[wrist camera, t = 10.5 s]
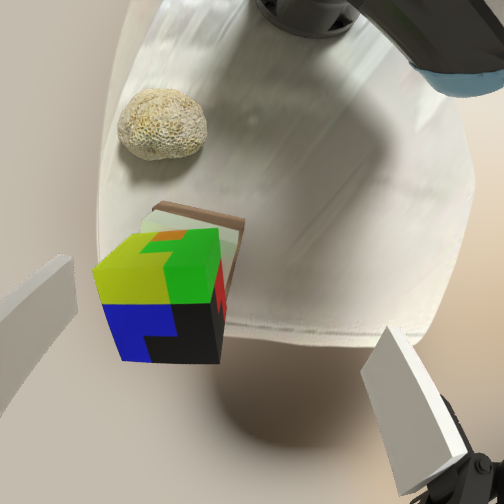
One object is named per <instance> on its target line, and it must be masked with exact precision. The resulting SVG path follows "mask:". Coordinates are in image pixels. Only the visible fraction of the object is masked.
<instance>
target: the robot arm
mask: <svg viewBox="0 0 504 504" xmlns="http://www.w3.org/2000/svg"><path fill="white" fill-rule="evenodd" d="M256 3H257V6H258V8H259V10H260V11H261V13H262V14H263V15H264V16H265V17H266V18H267V19H268V20H269V21H270V22H271V23H272V24H274V25H275V26H277V27H278V28H280V29H282V30H284V31H286V32H288V33H291V34H294V35H297V36H301V37H307V38H328V37H333V36H336V35H339V34H341V33H343V32H344V31H346V30H347V29H348V28H350V26H351V25H352V24H353V23H354V22H355V21H356V20H357V18H358V17H359V15H360V13H361V14H362V15H363V16H365V17H366V18H367V19H368V20H369V21H370V22H371V23H372V24H373V25H374V26H375V27H377V28H378V29H379V30H380V31H381V32H382V33H383V34H384V35H385V36H386V37H387V38H388V39H389V40H390V41H391V42H392V43H393V44H394V45H395V46H396V48H397V49H398V50H399V51H400V52H401V53H402V54H403V55H404V56H405V57H406V58H407V60H408V61H409V64H410V65H411V66H412V67H413V68H414V69H415V70H417V71H418V72H419V73H420V74H421V75H422V76H423V77H424V78H425V79H426V81H427V82H428V83H429V84H430V85H431V86H432V87H433V88H434V89H435V90H436V91H438V92H440V93H443V94H445V95H446V96H450V97H456V98H468V97H475V96H480V95H484V94H488V93H491V92H494V91H497V90H499V89H501V88H503V87H504V0H256ZM76 300H77V299H76V290H75V277H74V260H73V257H70V256H67V255H63V254H60V253H59V254H58V255H56V256H55V257H54V258H52V259H51V260H50V261H49V262H47V263H46V264H45V265H43V266H42V267H41V268H40V269H38V270H37V271H36V272H34V273H33V274H32V275H31V276H29V277H28V278H27V279H26V280H25V281H23V282H22V283H21V284H20V285H18V286H17V287H16V288H15V289H14V290H12V291H11V292H10V293H9V294H8V295H7V296H5V297H4V298H3V299H2V300H1V301H0V417H1V416H2V414H3V412H4V411H5V409H6V408H7V406H8V405H9V403H10V402H11V400H12V398H13V397H14V396H15V394H16V393H17V391H18V390H19V388H20V387H21V385H22V384H23V383H24V381H25V380H26V378H27V377H28V376H29V374H30V373H31V371H32V370H33V369H34V367H35V366H36V365H37V363H38V362H39V361H40V359H41V358H42V357H43V355H44V354H45V353H46V351H47V350H48V349H49V347H50V346H51V345H52V344H53V342H54V341H55V340H56V338H57V337H58V336H59V335H60V333H61V332H62V331H63V330H64V329H65V327H66V326H67V325H68V324H69V323H70V321H71V320H72V319H73V318H74V316H75V315H76V314H77V313H78V308H77V301H76ZM360 373H361V375H362V378H363V381H364V384H365V387H366V390H367V392H368V395H369V398H370V401H371V404H372V407H373V410H374V413H375V416H376V419H377V423H378V426H379V428H380V432H381V435H382V438H383V441H384V444H385V448H386V451H387V455H388V458H389V461H390V465H391V468H392V472H393V476H394V479H395V483H396V486H397V490H398V494H399V496H403V495H407V494H411V493H415V492H417V491H418V490H420V489H421V488H422V487H424V486H426V485H427V488H428V490H427V491H425V492H424V493H422V494H421V495H419V496H418V497H416V498H415V499H413V500H412V501H411V502H410V504H414V503H416V502H417V501H419V500H420V499H421V500H420V502H419V503H418V504H488V502H490V501H491V500H493V499H494V498H496V497H497V503H496V504H504V460H503V461H502V462H501V463H497V462H491V460H490V459H489V457H488V456H486V455H485V454H482V453H474V451H473V450H472V447H471V445H470V443H469V441H468V439H467V437H466V435H465V433H464V431H463V429H462V427H461V425H460V424H459V423H458V422H459V421H458V419H457V417H456V416H455V415H454V414H455V413H454V411H453V409H452V407H451V405H450V403H449V402H448V401H447V400H446V399H445V398H444V397H443V396H442V395H441V394H439V392H438V391H437V389H436V387H435V385H434V383H433V381H432V380H431V378H430V376H429V374H428V372H427V371H426V369H425V367H424V365H423V364H422V362H421V361H420V358H419V357H418V355H417V354H416V352H415V350H414V348H413V347H412V345H411V343H410V342H409V340H408V338H407V337H406V335H405V333H404V332H403V330H402V329H401V328H400V327H393V326H387V327H386V329H385V330H384V332H383V334H382V336H381V338H380V339H379V341H378V343H377V345H376V346H375V348H374V350H373V352H372V353H371V355H370V357H369V358H368V360H367V362H366V363H365V365H364V367H363V368H362V370H361V371H360Z"/></svg>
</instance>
